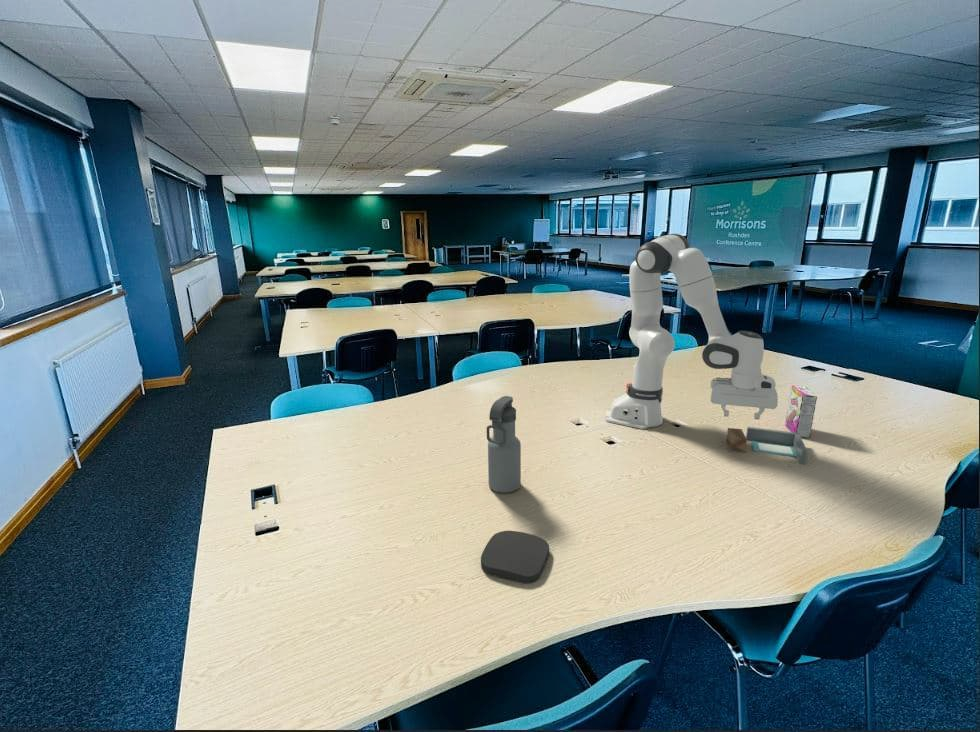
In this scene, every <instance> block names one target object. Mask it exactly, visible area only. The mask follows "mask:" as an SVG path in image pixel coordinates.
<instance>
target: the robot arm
mask: <svg viewBox="0 0 980 732" xmlns="http://www.w3.org/2000/svg"><path fill="white" fill-rule="evenodd" d="M668 271H669V272H671V273H672V274H673V275H674V278H675V280H676V284H677V287H678V290H679V292H680V295H681V297H682V299H683V301H684V303H685V304H686V305H687V306H688V307H691V308H693V309H695V310H696V311H697V312H698V313H699V314H700V316H701V318H702V321H703V323H704V326H705V328H706V332H707V334H708V342H707V344H706V345H705V347H704V349H702V353H701V354H702V355H701V357H702V360H703V362H704V364H705V365H706V366H707V367H709V368H711V369H714V370H723V369H724V370H725V369H731V372H730V373H731V374H730V377H716V378H713V379H712V380H711V381H710V388H711V393H710V402H711V403H712V404H713V405H720V407H721V409H722V411H723V417H729V414H730V410H727V409H726V407H727V406H737V407H739V406H740V407H747V408H758V409H759V410H758V412H754V415H753V416H754V417H753V418H754V420H760V418H761V415H762V414H763V413H764V412H765V409H768V410H769V409H771V410H775V409H776V408H777V407H778V404H779V402H778V397H779V396H778V392H777V389H776V385H777V384H776V383H777V382H776V381H775V379H774V378H773V377H772V376H769V375H765V374H763V373H762V368H761V367H762V363H763V359H764V352H765V351H764V350H765V349H764V348H765V347H764V345H765V344H764V338H763V337H762V336H761V335H760V334H759V333H757V332H753V331H751V330H750V331H749V330H739V331H738V332H736V333H734V334H732V332H731V331H729V329H728V326H727V325H726V321H725V319H724V316H723V314H722V311H721V308H720V305H719V299H718V294H717V287H716V286H717V285H716V283H715V278H714V275H713V273H712V270H711V267H710V265H709V263H708V260H707V258H706V257H705V254H703V251H701V249H699V248H696V247H690V243H689V241H688V239H687V238H686V237H685V236H684V235H682V234H678V233H669V234H667V235H662V236H659V237H656V238H654V239H653V240H650V241H648V242H645V243H644V244H642V245H641V246H639V248H638V249H637V251H636V254H635V260H634V261H632V262H631V264H630V267H629V279H628V280H629V292H630V293H629V294H630V302H631V321H630V322H631V323H630V327H629V331H628V334H629V338H630V341H631V342H632V344H633V345H634V346H636V347H637V348H638V349H639V355H638V358H637V361H636V362H635V364H634V365H633V369H632V381H631V382H627V383H626V391H625V393H623V395H621V396H618V397H616V398H615V399H614V400H613V401H612V404H611V405H610V408H608V409H607V410H606V411H604V412H605V413H604V417H603V418H604V420H605V421H606V422H608V423H611V424H617V425H621V426H627V427H630V428H636V429H640V430H645V429H648V428H653V427H659V426H661V425H662V424H663V423H664V419H663V416H662V400H663V395H664V394H663V393H664V390H663V378H664V370H665V367H666V364H667V363H666V362H667V360H668V358H669V356H670V355H671V354H672V353H673V351H674V349H675V344H676V343H675V339H674V337H673V335H672V334H671V333H670V332H669V331H668V329H665V328H663V327H662V326H661V324H660V319H661V312H662V310H663V308H664V300H663V299H664V298H663V290H662V279H661V274H666V273H667V272H668Z"/></svg>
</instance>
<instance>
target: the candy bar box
mask: <svg viewBox="0 0 980 732" xmlns="http://www.w3.org/2000/svg"><path fill="white" fill-rule="evenodd" d="M789 393H790V394H789V398H788V405H787V411H786V417H785V424H784V425H785V426H786V428H787V429H788V430H789V432H794V433H799V435H800V437H801V439H802V438H803V439H804V438H805V439H809V438H810V437H811V432H812V427H813V422H814V421H813V420H814V417H815V412H816V411H815V410H816V405H817V399H818V396H817V394H815V393H814V392H812V390H810V389H809V388H808V387H807V386H805V385H796V384H795V385H794V384H793V385H791V387H790V392H789Z"/></svg>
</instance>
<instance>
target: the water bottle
mask: <svg viewBox="0 0 980 732" xmlns="http://www.w3.org/2000/svg"><path fill="white" fill-rule="evenodd" d="M513 402H514V397H512V396H509V395H504V396H501V397H500V398H498V399H496V400H495V401H494V402H493V404H492V405H491V407H490V410H489V421H491V424H489V425H488V426H487V427H486V440H487V441H488V442H487V454H488V455H487V463H488V464H487V465H488V466H487V467H488V469H487V470H488V474H487V475H488V486H489V488H490V489H491V491H494V492H496V493H499V494H509V492H510V493H513V491H514V492H515V490H516V491H517V490H519V489H520V487H521V481H522V478H521V476H522V475H521V473H522V471H521V470H522V467H521V465H522V463H521V462H522V459H521V457H522V456H521V455H522V454H521V453H522V451H521V450H522V449H521V448H522V447H521V445H522V443H521V441H520V438H518V437H517V436H516V421H517V409H516V407H514V406H513ZM490 429H492V435H493V436H492V437H491V436H490Z"/></svg>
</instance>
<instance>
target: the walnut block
mask: <svg viewBox="0 0 980 732" xmlns="http://www.w3.org/2000/svg"><path fill="white" fill-rule="evenodd" d="M747 442H748V440H747V439H746V434H745V433H744V431H743V429H741V428H734V427H733V428H732V427H727V432H726V443H727V446H728V448H729V451H730V452H733V453H734V452H735V453H743V454H744V453H745V454H746V447H747Z"/></svg>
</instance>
